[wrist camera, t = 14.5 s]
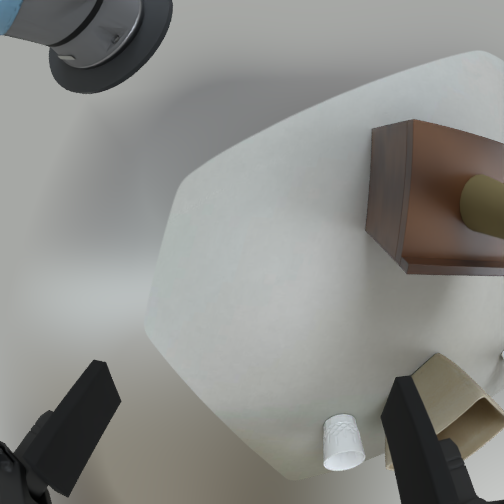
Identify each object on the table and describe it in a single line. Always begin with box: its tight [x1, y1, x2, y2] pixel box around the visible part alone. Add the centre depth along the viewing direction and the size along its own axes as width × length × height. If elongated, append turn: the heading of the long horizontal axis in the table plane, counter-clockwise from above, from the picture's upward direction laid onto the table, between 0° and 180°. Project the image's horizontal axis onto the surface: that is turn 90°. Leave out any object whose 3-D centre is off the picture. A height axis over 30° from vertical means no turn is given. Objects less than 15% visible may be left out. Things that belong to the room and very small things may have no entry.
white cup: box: [323, 414, 365, 471], centre depth 47 cm, size 8×8×10 cm
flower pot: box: [385, 353, 504, 471], centre depth 39 cm, size 19×19×17 cm
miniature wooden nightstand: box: [365, 119, 504, 276], centre depth 29 cm, size 14×18×16 cm
